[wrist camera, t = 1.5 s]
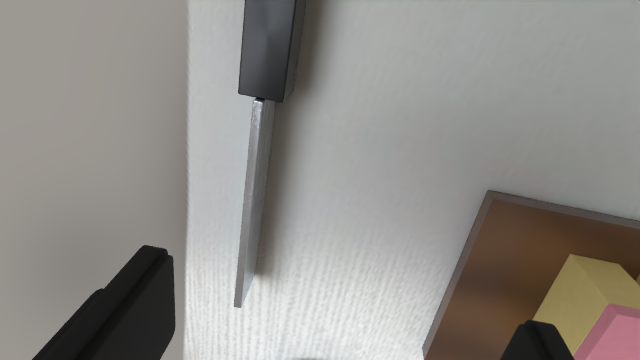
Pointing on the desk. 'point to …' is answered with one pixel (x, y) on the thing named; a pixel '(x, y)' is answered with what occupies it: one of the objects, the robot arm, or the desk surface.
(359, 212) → the desk surface
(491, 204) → the cake board
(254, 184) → the knife
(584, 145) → the desk surface
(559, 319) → the cake slice
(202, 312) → the desk surface
